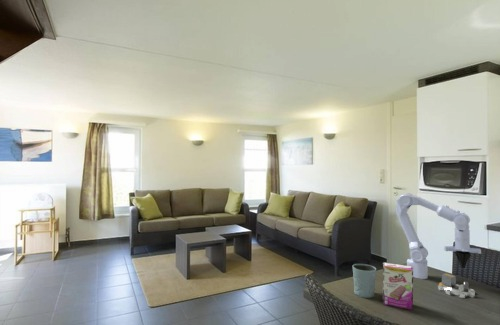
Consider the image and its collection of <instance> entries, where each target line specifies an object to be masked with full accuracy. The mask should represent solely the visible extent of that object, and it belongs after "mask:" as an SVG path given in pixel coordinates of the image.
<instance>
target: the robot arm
mask: <svg viewBox="0 0 500 325" xmlns="http://www.w3.org/2000/svg"><path fill="white" fill-rule="evenodd" d="M412 206H421V207H424V208H426V209H428V210H431V211H434V212H436V214H437V216H438V217H440V218H443V219H445V220H447V221H450V222H454V227H455V228H454V245H452V246H451V245H449V246H448V245H447V246H445V245H444V246H443V249H444V250H443V251H445V252H454V254H455V256H456V258H457V260H458V263H459V267H460V268H461V269H463V268H464V269H465V268H466V265H467V262H468V261H469V260H470V258H471V256H472V253H473V254H480V255H482V249H481V248H476V247H471V244H470V243H471V242H470V240H471V239H470V238H471V236H470V232H471V231H470V224H469V223H470V221H471V219H470V217H469V215H468V214H466V213H465V212H461V211H459V210H455V209H453V208H450V206H449V205H440V206H439V205H438V204H435V203H433V202H431V201H429V200H426V198H425V199H424V198H422V197H421V196H419V195H415V194H412V193H404V194H401V195H399V197H398V198H397V199H396V206H395V207H396V208H395V213H396V216H397V218H398V220H399V223H400V225H401V228H402V230H403V232H404V235H405V237H406V239H407V241H408V244H409V250H410V258H407V260H406V266H411V267H412V268H413V278H416V279H419V280H420V279H421V280H426V279H428V272H429V271H428V260H427V257H428V255H429V252H428V249H427V248H426V247H425V246H424V245H423V243H422V242H421V240H420V239H419V236H418V234H417V232H416V230H415V227H414V225H413V223H412V221H411V219H410V216H409V214H408V211H409V209H410V207H412Z"/></svg>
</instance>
